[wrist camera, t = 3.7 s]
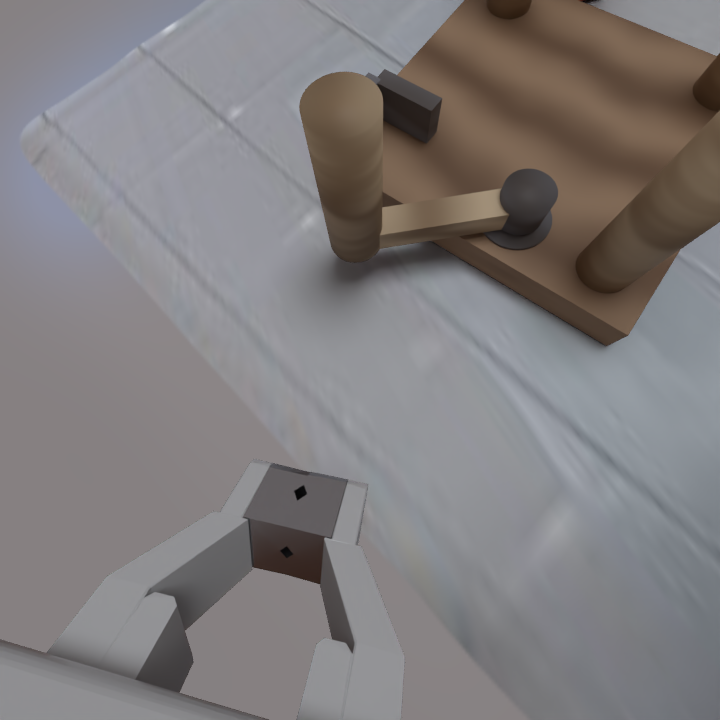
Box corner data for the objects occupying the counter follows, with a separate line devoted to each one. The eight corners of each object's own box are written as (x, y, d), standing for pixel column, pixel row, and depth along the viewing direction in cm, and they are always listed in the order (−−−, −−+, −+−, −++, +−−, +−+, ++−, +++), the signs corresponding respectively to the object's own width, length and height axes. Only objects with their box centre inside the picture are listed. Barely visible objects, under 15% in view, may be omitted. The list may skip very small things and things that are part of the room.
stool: (487, -3, 31) (547, -261, 20) (752, 110, 26) (1020, -141, 15) (327, 178, 27) (290, -17, 16) (606, 346, 22) (825, 237, 11)
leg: (534, 188, 23) (628, 24, 14) (549, 232, 22) (658, 86, 13) (327, 221, 23) (295, 79, 14) (333, 266, 22) (304, 143, 13)
